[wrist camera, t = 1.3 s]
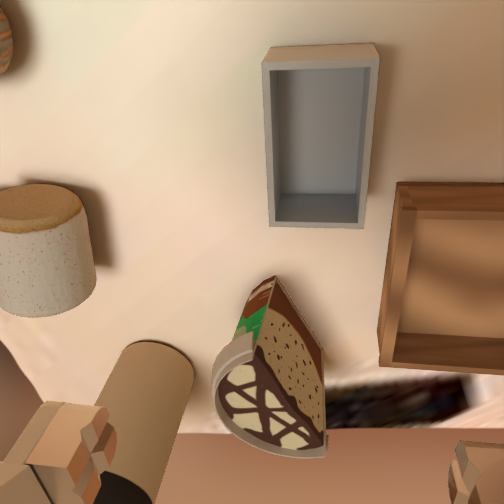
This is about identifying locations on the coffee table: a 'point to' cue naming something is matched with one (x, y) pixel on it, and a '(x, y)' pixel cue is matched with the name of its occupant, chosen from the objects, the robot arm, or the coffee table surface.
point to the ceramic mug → (43, 251)
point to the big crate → (444, 279)
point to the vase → (5, 43)
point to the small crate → (319, 133)
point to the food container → (273, 378)
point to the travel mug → (143, 420)
